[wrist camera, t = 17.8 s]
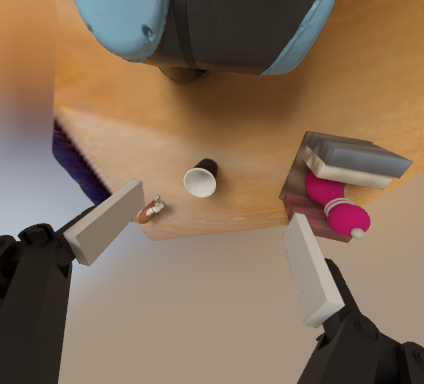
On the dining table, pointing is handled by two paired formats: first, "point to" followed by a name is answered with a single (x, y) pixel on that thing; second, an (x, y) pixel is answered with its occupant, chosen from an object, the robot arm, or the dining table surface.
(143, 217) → the bull figurine
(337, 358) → the robot arm
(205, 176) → the dixie cup
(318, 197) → the pepper mill
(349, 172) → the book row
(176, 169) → the dining table surface
